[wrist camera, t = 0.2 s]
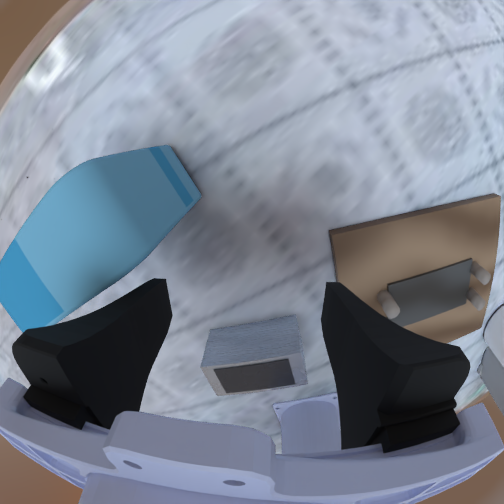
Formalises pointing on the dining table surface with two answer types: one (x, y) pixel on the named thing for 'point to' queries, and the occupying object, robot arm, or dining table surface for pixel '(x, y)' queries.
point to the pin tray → (424, 265)
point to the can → (496, 334)
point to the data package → (92, 232)
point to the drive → (255, 357)
